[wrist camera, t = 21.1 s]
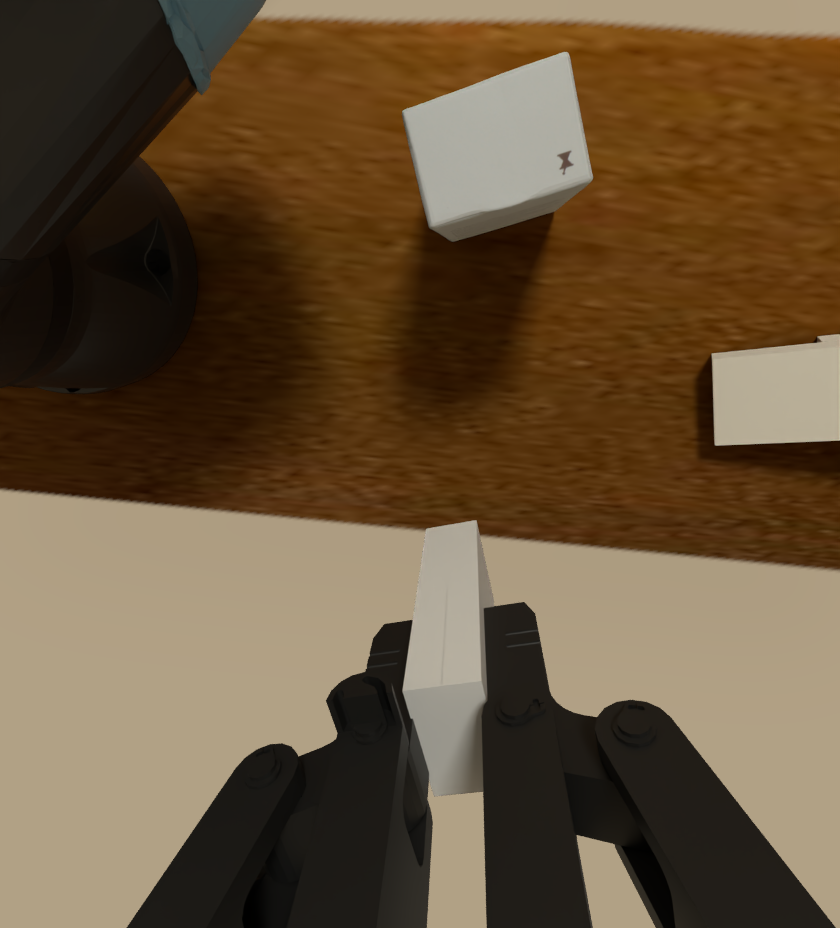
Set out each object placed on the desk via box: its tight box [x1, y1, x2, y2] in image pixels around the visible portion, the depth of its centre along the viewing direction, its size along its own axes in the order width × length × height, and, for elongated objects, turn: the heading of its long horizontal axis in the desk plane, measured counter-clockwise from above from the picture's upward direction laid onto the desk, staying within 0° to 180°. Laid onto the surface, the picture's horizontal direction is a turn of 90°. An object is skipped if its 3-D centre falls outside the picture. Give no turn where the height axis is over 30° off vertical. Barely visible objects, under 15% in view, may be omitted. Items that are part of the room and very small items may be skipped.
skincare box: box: [402, 52, 593, 242], centre depth 26 cm, size 6×4×12 cm
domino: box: [712, 340, 840, 446], centre depth 31 cm, size 2×5×10 cm
